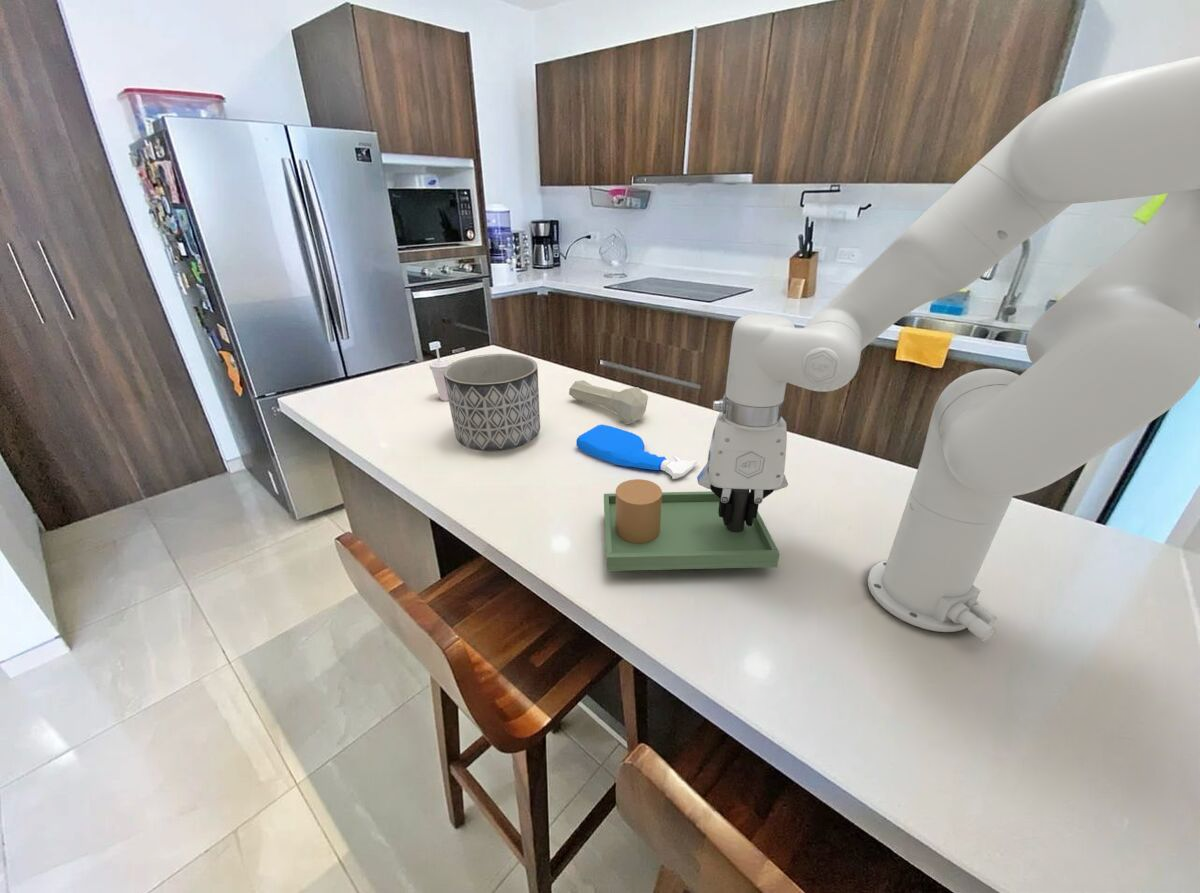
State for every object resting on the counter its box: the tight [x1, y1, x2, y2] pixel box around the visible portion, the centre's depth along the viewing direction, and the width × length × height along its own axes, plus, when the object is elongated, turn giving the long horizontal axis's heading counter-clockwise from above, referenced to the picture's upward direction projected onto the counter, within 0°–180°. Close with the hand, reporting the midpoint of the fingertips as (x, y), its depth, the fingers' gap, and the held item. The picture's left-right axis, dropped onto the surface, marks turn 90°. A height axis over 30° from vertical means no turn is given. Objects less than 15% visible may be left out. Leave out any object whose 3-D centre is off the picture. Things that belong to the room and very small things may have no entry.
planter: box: [443, 353, 541, 452], centre depth 107 cm, size 19×19×16 cm
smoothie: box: [428, 346, 455, 402], centre depth 129 cm, size 6×6×14 cm
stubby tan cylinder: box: [615, 478, 663, 544], centre depth 75 cm, size 7×7×7 cm
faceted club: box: [568, 379, 649, 425], centre depth 123 cm, size 9×8×25 cm
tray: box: [603, 489, 781, 572], centre depth 75 cm, size 24×16×8 cm, turn 91°
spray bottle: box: [575, 424, 698, 480], centre depth 102 cm, size 3×11×24 cm
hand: (736, 519), depth 76 cm, fingers closed on tray, 2 cm apart
